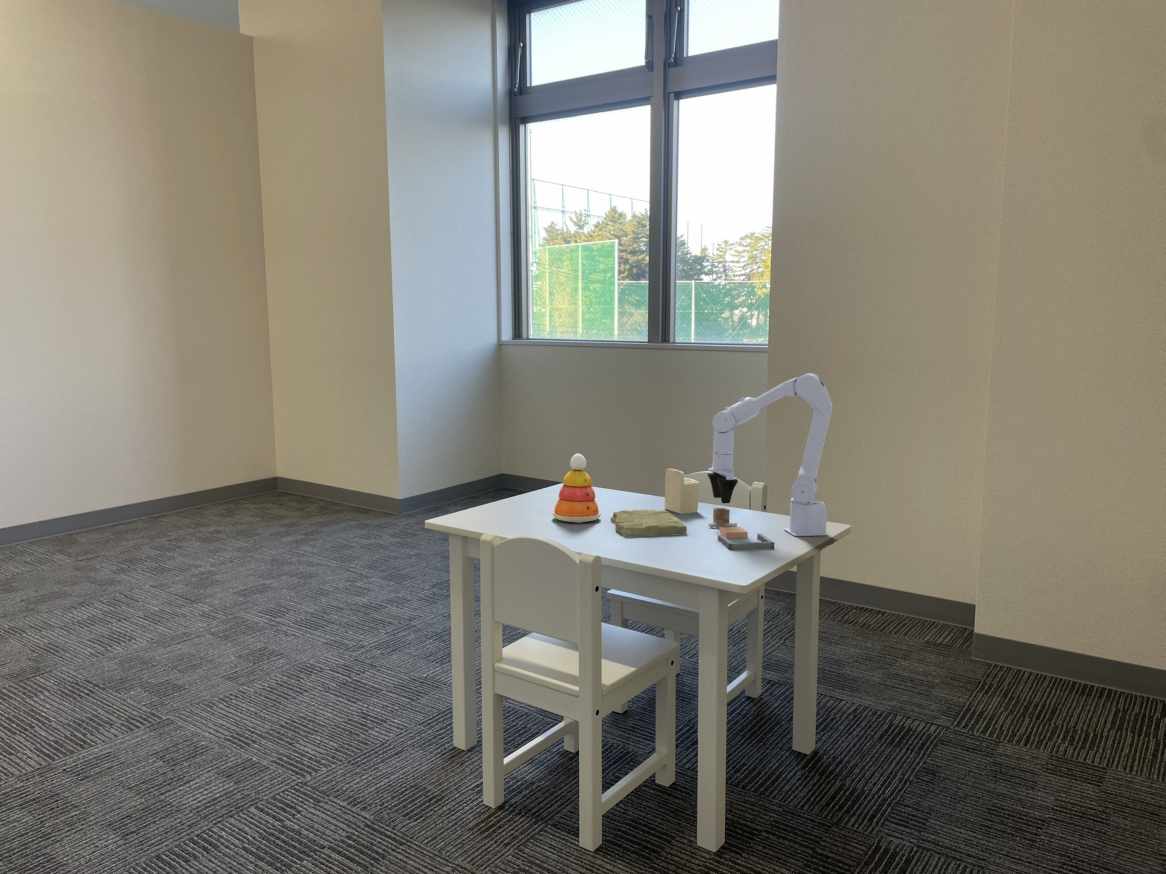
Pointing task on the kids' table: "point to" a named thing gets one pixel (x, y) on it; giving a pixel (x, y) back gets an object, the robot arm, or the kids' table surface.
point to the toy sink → (680, 492)
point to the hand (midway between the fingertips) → (721, 500)
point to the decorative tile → (647, 523)
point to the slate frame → (763, 544)
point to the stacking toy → (577, 495)
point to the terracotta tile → (733, 532)
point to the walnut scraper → (721, 518)
